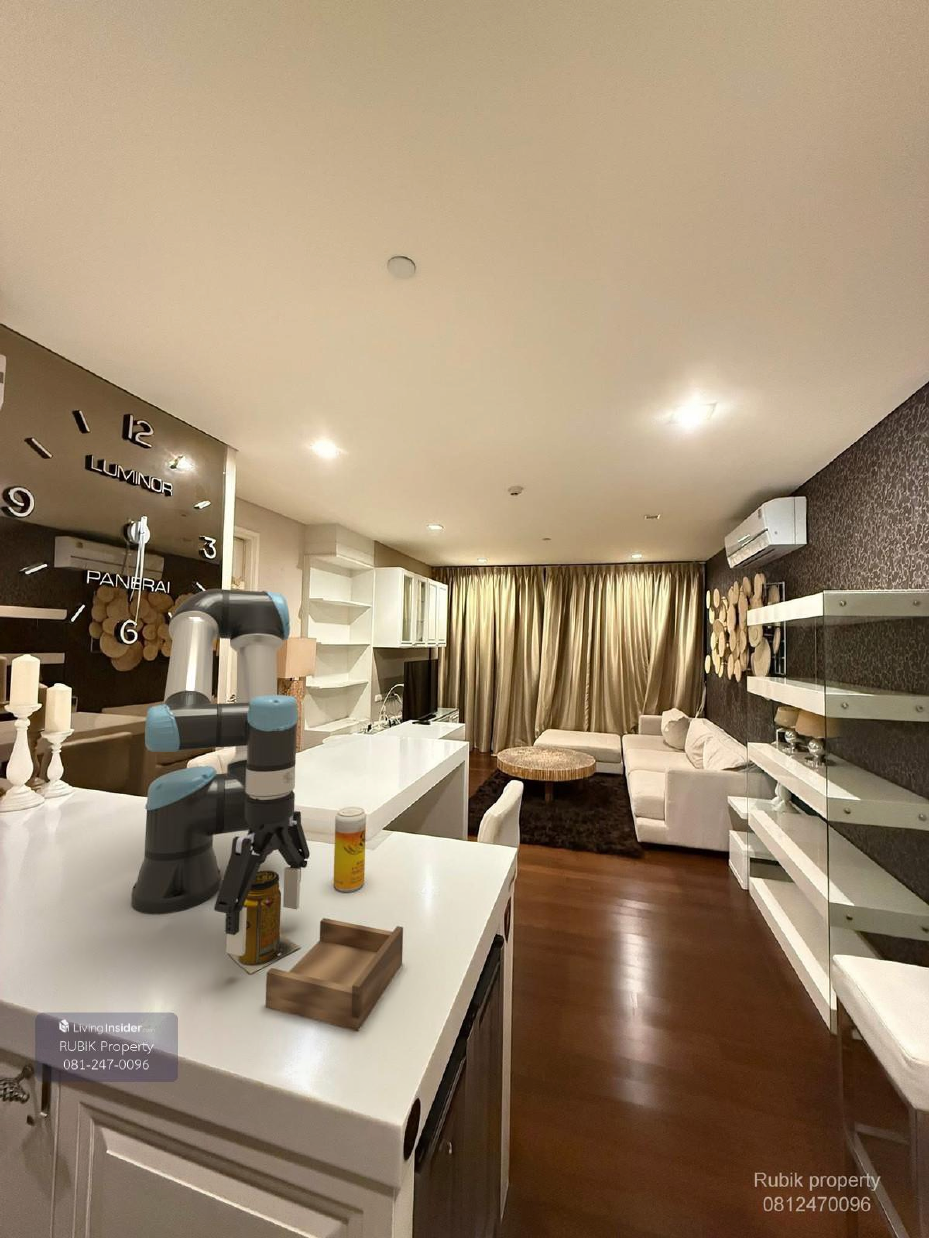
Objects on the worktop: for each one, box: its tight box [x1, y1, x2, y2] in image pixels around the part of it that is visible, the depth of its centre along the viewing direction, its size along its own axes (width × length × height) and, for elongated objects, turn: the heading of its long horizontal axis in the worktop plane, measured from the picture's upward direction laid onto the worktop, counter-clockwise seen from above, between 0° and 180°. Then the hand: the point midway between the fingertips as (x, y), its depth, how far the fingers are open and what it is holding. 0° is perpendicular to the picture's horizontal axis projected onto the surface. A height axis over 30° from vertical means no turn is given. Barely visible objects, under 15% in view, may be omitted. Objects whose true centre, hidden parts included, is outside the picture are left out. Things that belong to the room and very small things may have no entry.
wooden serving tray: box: [264, 917, 404, 1032], centre depth 72 cm, size 14×14×6 cm
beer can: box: [333, 806, 367, 893], centre depth 101 cm, size 6×6×15 cm
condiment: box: [227, 869, 301, 975], centre depth 80 cm, size 7×8×12 cm
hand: (265, 928), depth 79 cm, fingers open, 12 cm apart
